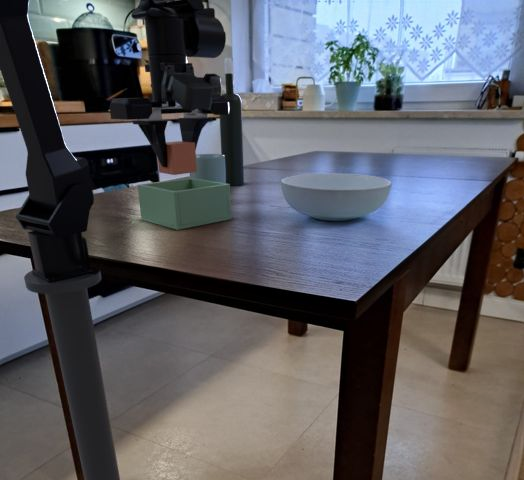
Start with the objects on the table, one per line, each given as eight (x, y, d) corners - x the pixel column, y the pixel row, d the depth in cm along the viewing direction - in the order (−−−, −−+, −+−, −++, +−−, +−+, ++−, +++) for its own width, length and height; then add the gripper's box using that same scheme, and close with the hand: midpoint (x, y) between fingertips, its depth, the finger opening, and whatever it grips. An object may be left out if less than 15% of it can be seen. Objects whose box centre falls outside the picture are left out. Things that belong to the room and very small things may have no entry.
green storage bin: (177, 230, 93) (174, 192, 90) (141, 219, 101) (137, 184, 99) (231, 219, 101) (230, 184, 98) (193, 210, 109) (191, 177, 106)
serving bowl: (346, 234, 88) (349, 192, 85) (259, 217, 101) (258, 181, 98) (408, 215, 102) (412, 178, 99) (324, 202, 115) (325, 170, 112)
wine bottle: (240, 186, 138) (236, 57, 124) (220, 185, 139) (213, 57, 126) (246, 182, 143) (242, 58, 129) (226, 182, 144) (220, 59, 131)
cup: (213, 198, 122) (211, 153, 117) (233, 202, 116) (231, 155, 112) (185, 202, 117) (181, 155, 113) (204, 207, 112) (201, 158, 107)
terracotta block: (174, 175, 82) (171, 144, 80) (158, 172, 85) (155, 143, 83) (197, 172, 85) (195, 142, 83) (181, 169, 88) (179, 141, 86)
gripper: (139, 50, 67) (153, 176, 74) (249, 54, 78) (252, 163, 85) (100, 56, 74) (116, 170, 81) (205, 58, 85) (211, 158, 92)
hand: (177, 165), depth 85 cm, fingers closed on terracotta block, 4 cm apart
